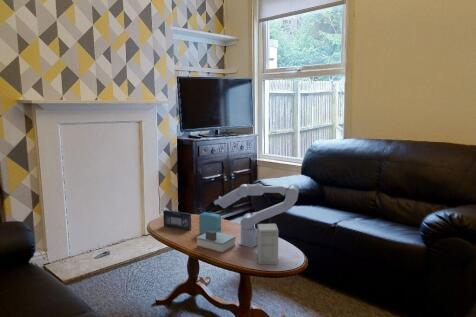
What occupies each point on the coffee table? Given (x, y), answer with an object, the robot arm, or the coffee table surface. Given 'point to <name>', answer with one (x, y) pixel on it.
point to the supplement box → (267, 243)
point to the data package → (209, 222)
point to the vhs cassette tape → (177, 220)
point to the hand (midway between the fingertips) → (209, 210)
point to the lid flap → (216, 237)
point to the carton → (215, 245)
